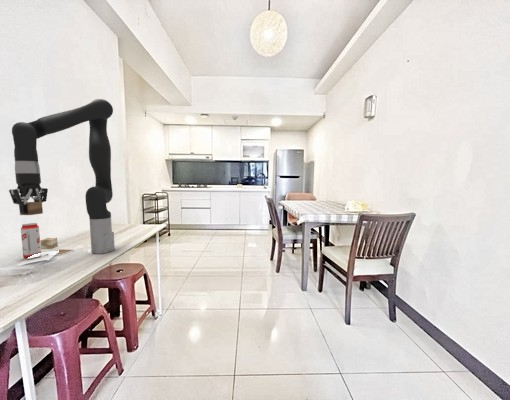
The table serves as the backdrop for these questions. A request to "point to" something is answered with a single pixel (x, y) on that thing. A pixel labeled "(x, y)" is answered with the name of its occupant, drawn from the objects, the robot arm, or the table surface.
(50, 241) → the maple cube
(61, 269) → the table surface
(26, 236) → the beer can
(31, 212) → the walnut cube
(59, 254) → the tile
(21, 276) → the table surface
